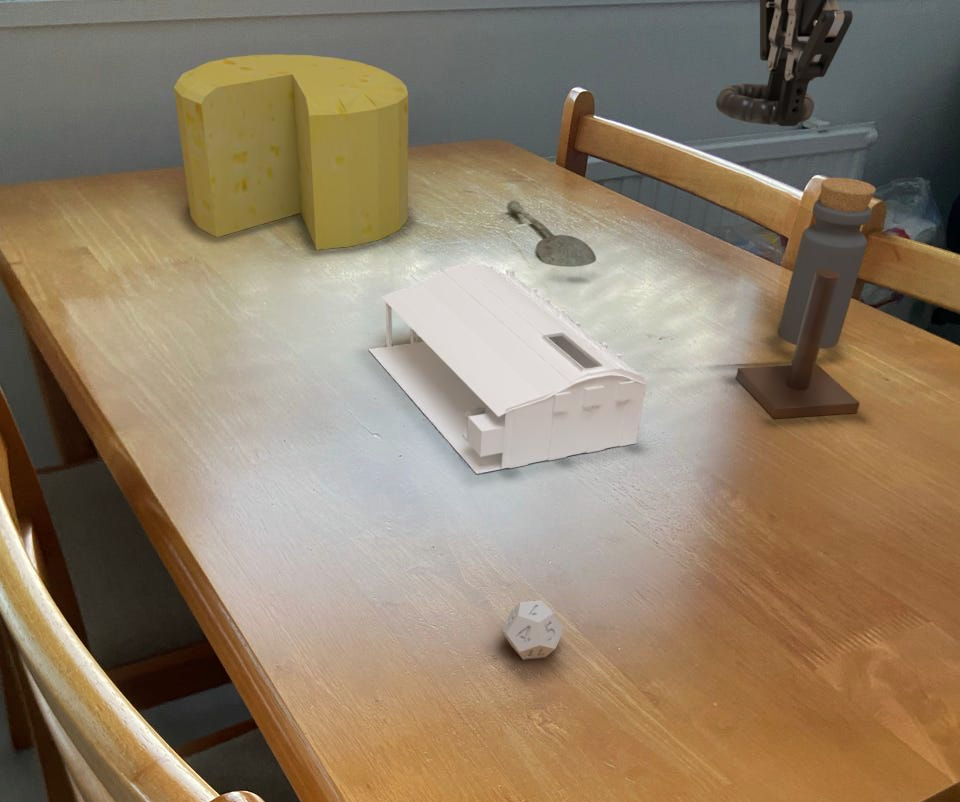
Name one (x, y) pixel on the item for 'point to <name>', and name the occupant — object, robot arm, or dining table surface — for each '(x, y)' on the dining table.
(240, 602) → the dining table surface
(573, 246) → the soupspoon
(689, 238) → the dining table surface
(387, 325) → the toy hangar
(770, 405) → the peg stand
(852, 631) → the dining table surface
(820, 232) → the bottle
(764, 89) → the ring
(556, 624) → the game die
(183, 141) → the cheese
